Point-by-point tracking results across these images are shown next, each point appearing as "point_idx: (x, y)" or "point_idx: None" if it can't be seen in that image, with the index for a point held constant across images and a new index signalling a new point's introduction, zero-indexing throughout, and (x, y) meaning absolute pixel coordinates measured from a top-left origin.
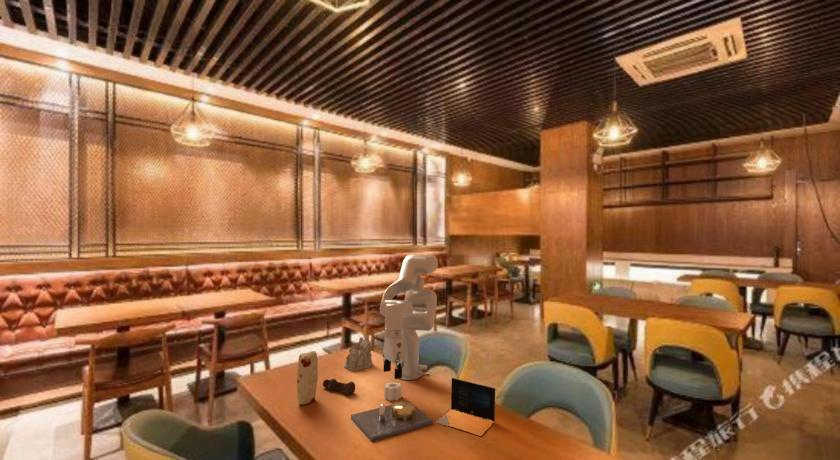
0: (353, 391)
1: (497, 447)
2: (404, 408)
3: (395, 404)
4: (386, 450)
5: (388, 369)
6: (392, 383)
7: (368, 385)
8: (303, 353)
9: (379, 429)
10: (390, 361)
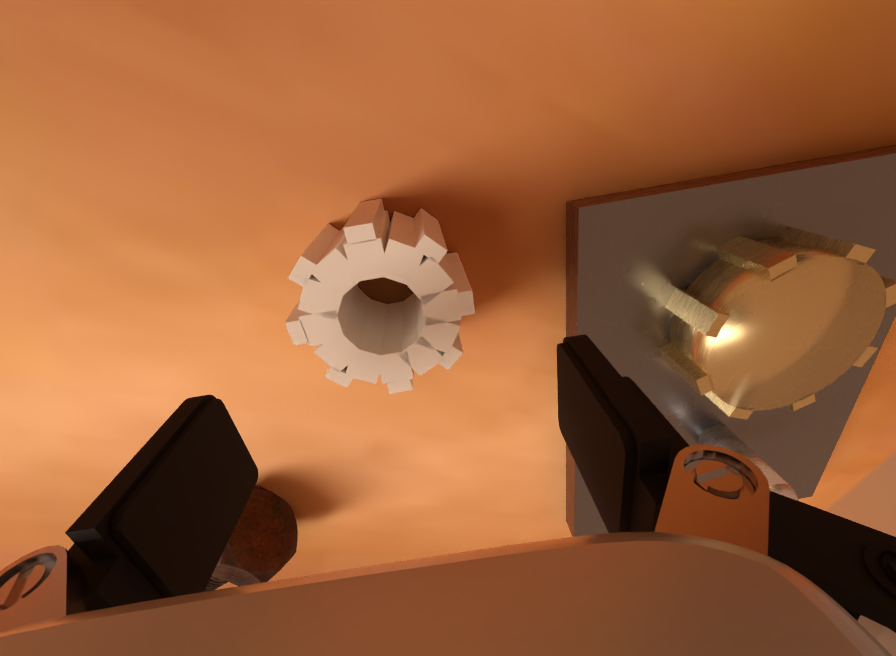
0: (256, 499)
1: None
2: (828, 347)
3: (729, 386)
4: (889, 445)
5: (222, 444)
6: (331, 309)
7: (104, 387)
8: None
9: (783, 462)
10: (100, 537)
